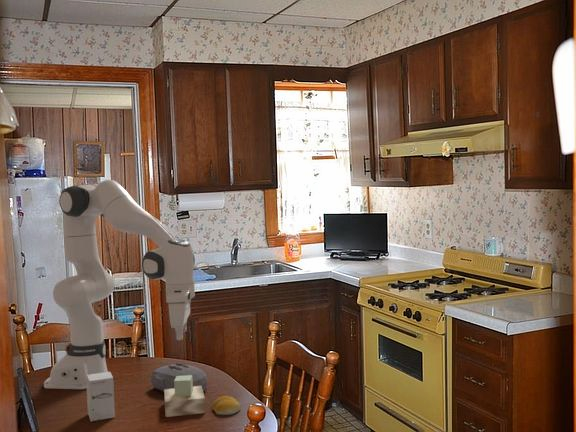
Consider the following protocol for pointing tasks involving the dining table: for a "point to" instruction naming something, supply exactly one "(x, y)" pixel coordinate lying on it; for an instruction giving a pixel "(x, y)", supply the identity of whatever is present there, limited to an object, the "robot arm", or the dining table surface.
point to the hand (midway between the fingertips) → (181, 335)
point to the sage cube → (183, 385)
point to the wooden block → (184, 402)
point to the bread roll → (226, 405)
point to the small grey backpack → (168, 373)
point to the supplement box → (100, 396)
